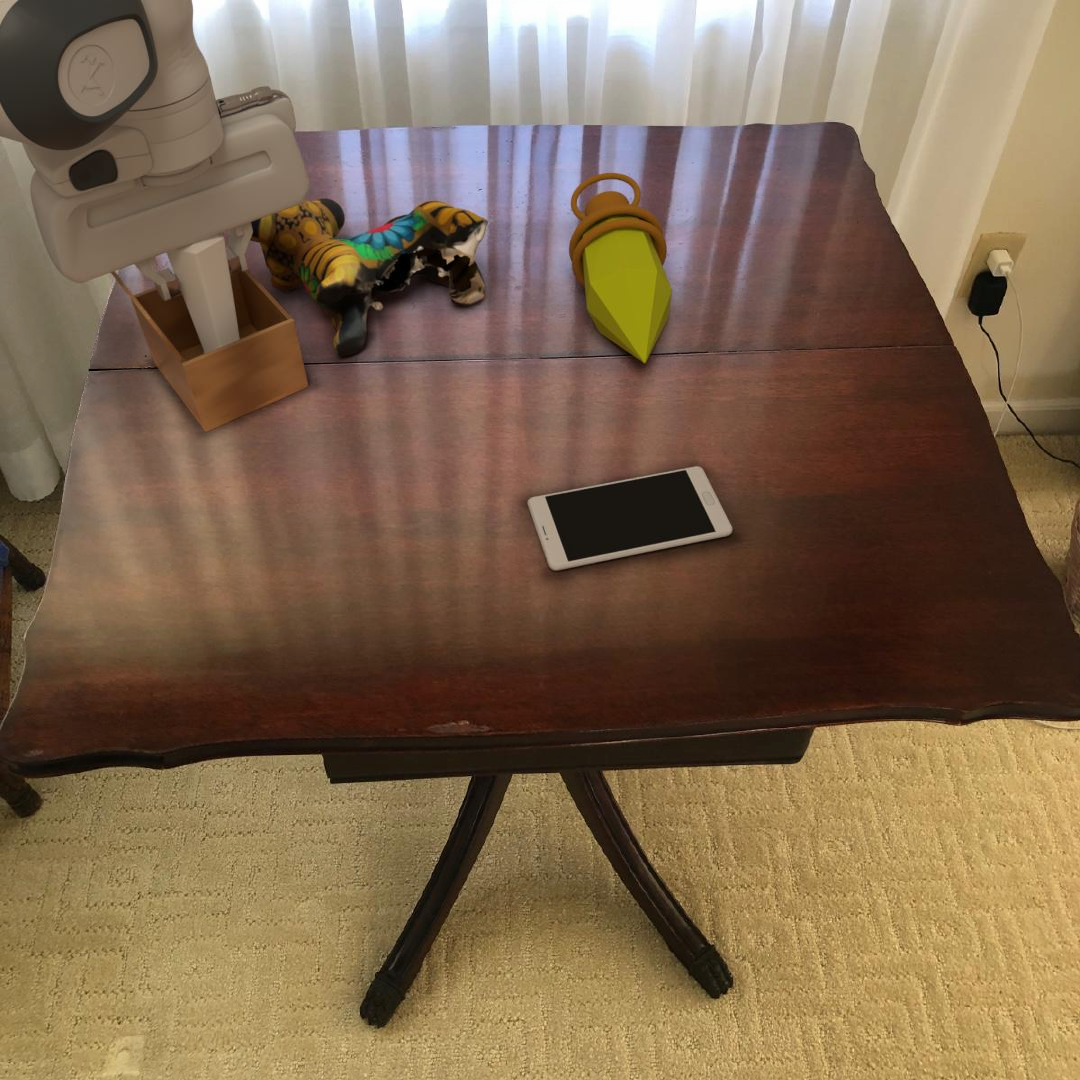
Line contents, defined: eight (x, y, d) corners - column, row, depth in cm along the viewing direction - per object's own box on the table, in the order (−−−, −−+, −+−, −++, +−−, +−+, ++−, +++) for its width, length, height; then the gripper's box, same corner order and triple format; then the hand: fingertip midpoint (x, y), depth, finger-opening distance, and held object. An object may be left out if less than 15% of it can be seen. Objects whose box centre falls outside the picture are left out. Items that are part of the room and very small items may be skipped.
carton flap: (182, 358, 78) (179, 360, 78) (128, 289, 83) (125, 291, 83) (150, 317, 74) (147, 319, 74) (96, 248, 79) (93, 250, 79)
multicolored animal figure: (488, 333, 99) (384, 240, 106) (514, 223, 90) (398, 129, 97) (319, 390, 88) (214, 281, 95) (330, 270, 79) (213, 160, 86)
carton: (206, 432, 84) (183, 366, 78) (154, 363, 89) (129, 296, 84) (308, 386, 88) (294, 320, 82) (253, 323, 93) (236, 256, 87)
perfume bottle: (247, 376, 86) (209, 222, 74) (196, 374, 86) (150, 220, 74) (258, 342, 89) (223, 189, 77) (208, 340, 88) (166, 187, 77)
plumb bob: (699, 384, 90) (647, 200, 103) (693, 316, 82) (638, 126, 95) (602, 406, 91) (562, 221, 104) (587, 341, 83) (546, 150, 96)
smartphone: (735, 531, 77) (550, 568, 75) (734, 536, 78) (550, 574, 75) (701, 463, 82) (525, 496, 79) (700, 468, 82) (525, 501, 80)
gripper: (268, 62, 76) (298, 221, 86) (-4, 142, 68) (67, 307, 78) (307, 96, 72) (334, 257, 83) (27, 184, 64) (97, 349, 75)
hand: (203, 282), depth 81 cm, fingers closed on perfume bottle, 4 cm apart
